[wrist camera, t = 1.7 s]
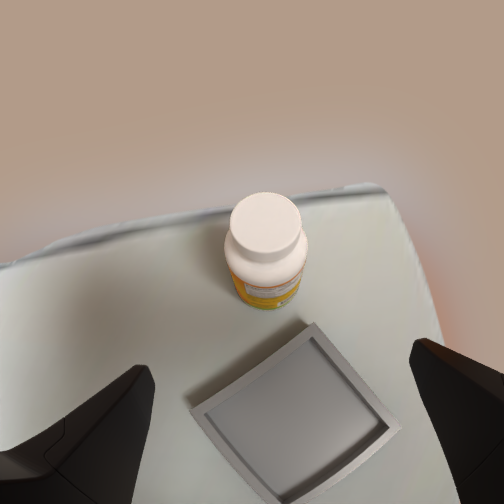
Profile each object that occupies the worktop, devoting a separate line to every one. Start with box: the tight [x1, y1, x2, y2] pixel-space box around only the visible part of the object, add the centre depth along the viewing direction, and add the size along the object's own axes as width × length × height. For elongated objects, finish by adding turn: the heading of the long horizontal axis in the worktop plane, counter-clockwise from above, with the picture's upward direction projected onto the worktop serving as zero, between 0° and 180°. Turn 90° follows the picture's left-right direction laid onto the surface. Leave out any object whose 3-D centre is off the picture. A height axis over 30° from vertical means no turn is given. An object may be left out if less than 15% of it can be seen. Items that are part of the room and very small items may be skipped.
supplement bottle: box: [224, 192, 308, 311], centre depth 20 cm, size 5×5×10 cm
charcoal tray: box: [189, 322, 402, 504], centre depth 18 cm, size 12×12×2 cm
